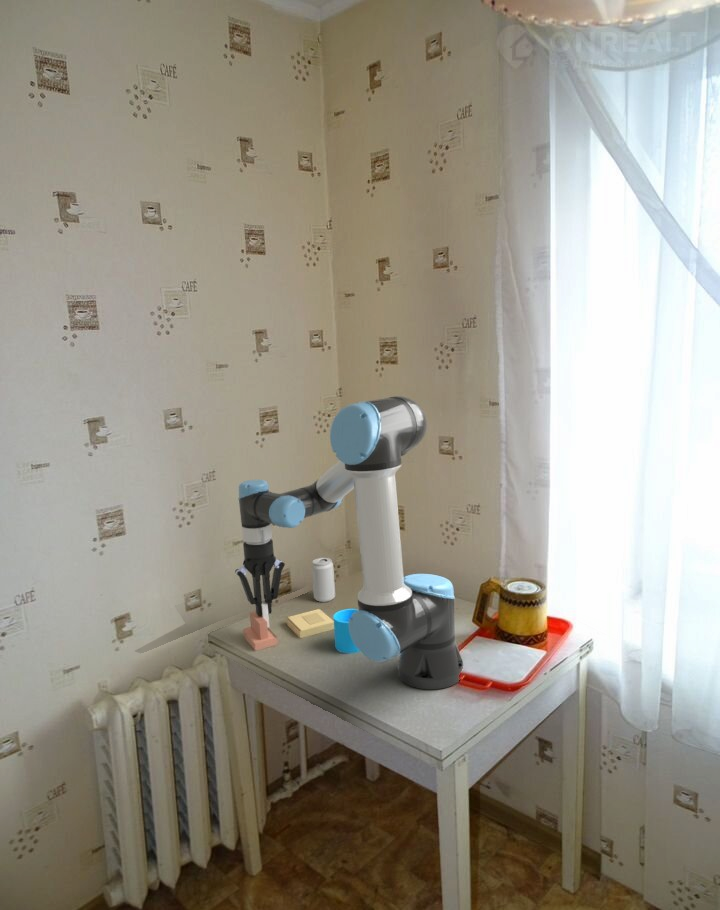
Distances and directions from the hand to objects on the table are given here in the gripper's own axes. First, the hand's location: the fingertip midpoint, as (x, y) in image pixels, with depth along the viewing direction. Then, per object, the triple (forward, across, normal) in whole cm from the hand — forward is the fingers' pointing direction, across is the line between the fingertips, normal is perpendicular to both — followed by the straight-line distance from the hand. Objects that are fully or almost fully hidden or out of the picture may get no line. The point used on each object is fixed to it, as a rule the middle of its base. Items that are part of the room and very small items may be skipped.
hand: (265, 625), depth 177 cm
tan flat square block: (+4, -13, 0) cm, 13 cm away
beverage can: (+4, -24, -15) cm, 28 cm away
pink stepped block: (+4, +2, 0) cm, 4 cm away
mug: (+4, -18, +14) cm, 23 cm away
